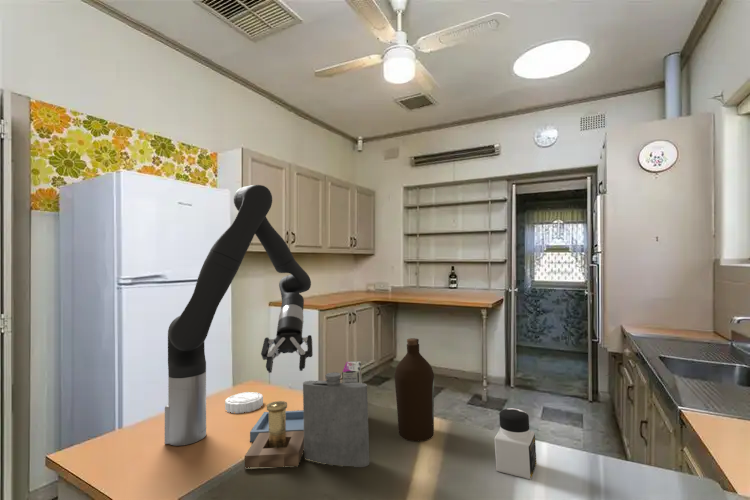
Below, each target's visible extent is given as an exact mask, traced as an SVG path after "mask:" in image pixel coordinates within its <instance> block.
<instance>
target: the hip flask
mask: <svg viewBox="0 0 750 500" xmlns="http://www.w3.org/2000/svg"><path fill="white" fill-rule="evenodd" d="M325 379H326V380H305V381H303V382H302V398H303V399H302V403H303V406H302V410H303V414H304V452H303V458H304V457H305V458H306V459H310V460H313V461H317V462H321V463H326V464H332V465H331V466H333V465H343V466H354V467H353V468H365V467H367V466H369V465H370V445H369V443H370V440H369V436H370V435H369V408H368V407H369V405H368V404H369V403H368V385H367V383H363V382H362V383H343V382H341V379H342V373H340V372H334V371H333V372H328V373H325ZM343 466H342V467H343Z"/></svg>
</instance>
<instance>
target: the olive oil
mask: <svg viewBox="0 0 750 500" xmlns="http://www.w3.org/2000/svg"><path fill="white" fill-rule="evenodd" d="M419 340H420V339H419V338H415V337H413V338H411V337H410V338H407V339H406V343H407V344H406V353H405V356H403V358H402V359H401V360H400V361H399V362H398V363H397V365H396V367H395V371H394V387H395V388H394V389H395V398H396V413H397V425H398V427H397V428H398V435H399V437H400V438H402V439H403V440H406V441H410V442H424V441H428V440H431V439H432V438H433V437H434V435H435V417H434V416H435V413H434V412H435V410H434V409H435V373H434V369H433V367H432V365H431V364H430V363H429V362H428V361H427V359H426V358H424V356H423V355H422V354H421V353H420V344H419V342H420V341H419Z"/></svg>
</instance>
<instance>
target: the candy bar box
mask: <svg viewBox="0 0 750 500" xmlns="http://www.w3.org/2000/svg"><path fill="white" fill-rule="evenodd" d="M362 378H363V377H362V361H359V360H358V361H345V364H344V367H343V369H342V371H341V380H342V383H363V380H362Z"/></svg>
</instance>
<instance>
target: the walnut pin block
mask: <svg viewBox="0 0 750 500" xmlns="http://www.w3.org/2000/svg"><path fill="white" fill-rule="evenodd" d="M303 449H304V431H290V432H286V447H284V448H269V433H259V434H258V436H257V437H256V439H255V441H254V442H252V444H251V446H250V447H249V449H248V450H247V452H246V453H245V455H244V468H245V467H246V468H248V467H249V468H250V467H283V466H284V467H285V466H298V465H299V466H300V464H299V462H300V463H301V461H300V459H301V460H302V458H301V456H302V457H303V455H302V453H303V454H304V452H303Z"/></svg>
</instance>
